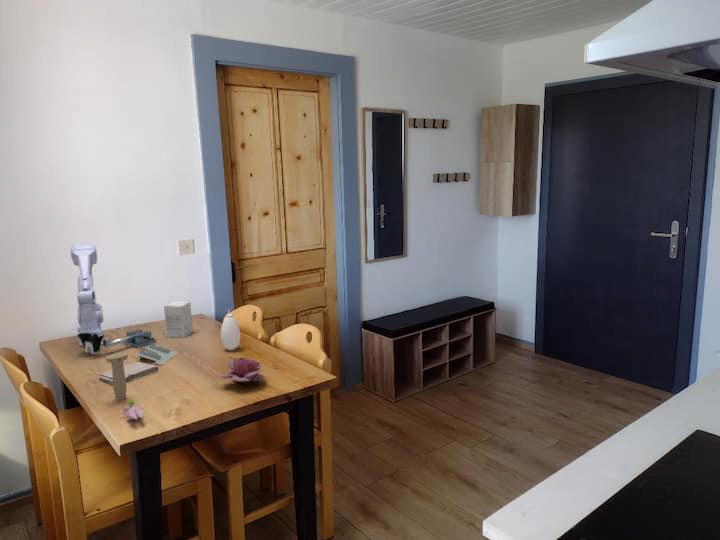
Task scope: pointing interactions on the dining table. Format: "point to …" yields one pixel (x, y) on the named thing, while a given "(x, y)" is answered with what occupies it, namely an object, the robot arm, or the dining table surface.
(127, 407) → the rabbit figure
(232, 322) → the sauce bottle
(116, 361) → the handle
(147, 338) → the vise
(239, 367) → the flower
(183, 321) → the supplement box
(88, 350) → the notched block
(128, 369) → the washcloth
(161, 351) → the metal bracket
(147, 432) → the dining table surface
